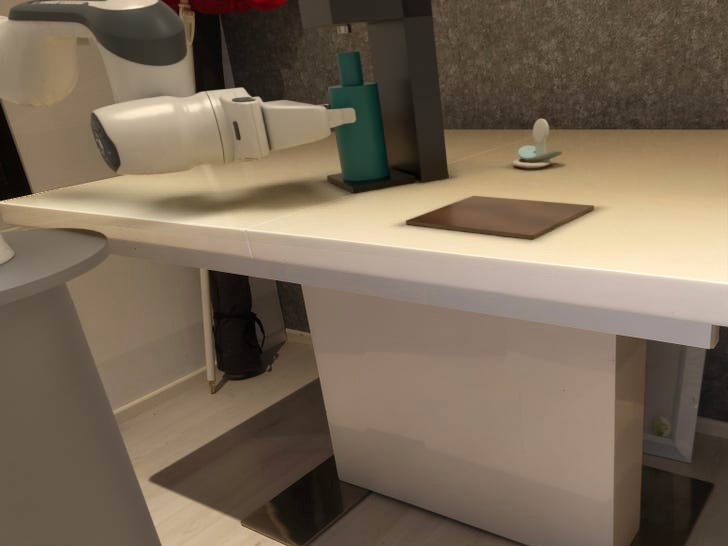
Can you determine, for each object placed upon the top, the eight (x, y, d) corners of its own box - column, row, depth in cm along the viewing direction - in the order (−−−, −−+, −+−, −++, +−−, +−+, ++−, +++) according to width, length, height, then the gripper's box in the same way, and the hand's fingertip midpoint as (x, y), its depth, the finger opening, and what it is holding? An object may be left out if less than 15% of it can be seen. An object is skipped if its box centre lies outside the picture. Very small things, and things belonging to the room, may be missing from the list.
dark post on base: (355, 194, 88) (319, -35, 77) (326, 180, 100) (290, -21, 89) (448, 177, 94) (427, -39, 82) (410, 165, 105) (386, -26, 94)
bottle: (366, 182, 91) (346, 52, 84) (333, 180, 95) (311, 55, 88) (399, 172, 96) (383, 49, 89) (366, 170, 99) (348, 51, 93)
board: (532, 239, 63) (532, 235, 63) (406, 224, 72) (405, 220, 72) (594, 209, 71) (594, 205, 71) (473, 199, 80) (473, 195, 80)
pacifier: (533, 173, 93) (568, 164, 95) (530, 125, 90) (566, 117, 92) (504, 167, 98) (537, 159, 101) (500, 122, 96) (534, 115, 98)
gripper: (229, 144, 95) (324, 130, 101) (259, 160, 79) (371, 143, 84) (218, 96, 93) (317, 85, 98) (247, 103, 76) (363, 89, 82)
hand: (342, 112), depth 91 cm, fingers open, 8 cm apart
